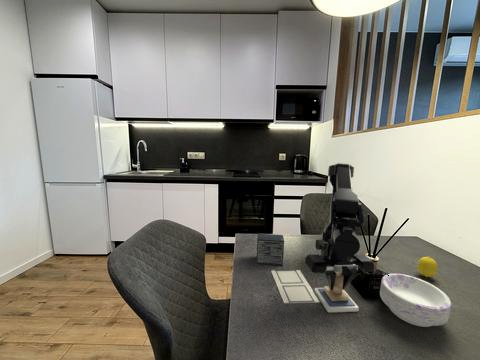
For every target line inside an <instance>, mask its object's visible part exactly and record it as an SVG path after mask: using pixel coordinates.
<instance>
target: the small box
mask: <svg viewBox="0 0 480 360" xmlns="http://www.w3.org/2000/svg"><path fill="white" fill-rule="evenodd" d="M284 249H285V238H284V235H283V234H274V233H257V238H256V261H255V262H256V264H258V265H268V266H269V265H270V266H281V267H283V266H284V253H285V251H284Z"/></svg>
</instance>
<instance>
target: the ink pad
mask: <svg viewBox="0 0 480 360" xmlns="http://www.w3.org/2000/svg"><path fill="white" fill-rule="evenodd" d="M343 291H344V292H345V293H346V294H347V295H348V296H349V295H350V294H348V293H347V291H345V289H344V290H343ZM314 293H315V295H316V296H317V298H318V299H319V301H320V303H321V304H322V305H323V307H324V308H325V310H326V312H328V313H347V312H348V313H350V312H353V313H354V312H359V309H360V307H359V306H358V305H357V303H355V301H354V300H353V299H352V298H351V297H350V296H349V299H348V302H331V300H330V299H329V298H328V296H327V295H326V293H325V292H324V287H315V288H314Z"/></svg>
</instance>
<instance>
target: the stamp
mask: <svg viewBox="0 0 480 360" xmlns="http://www.w3.org/2000/svg"><path fill="white" fill-rule="evenodd" d="M334 272H335V273H336V278H335V282H334V287H333V289H332V290H330V288H329V285H328V286H327V285H326V286H323V288H324V292H325V293H326V295H327V296H328V298H329V299H330V300H331V302H348V299H349V297H350V296H348V295H349V294H348V293H347V292H346V291H345V290H344V291H345V292H346V293H347V294H348V295H347V294H346V293H345V292H344V291H343V290H342V288H343V279H344V275H343V274H342V272H339V271H334Z"/></svg>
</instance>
